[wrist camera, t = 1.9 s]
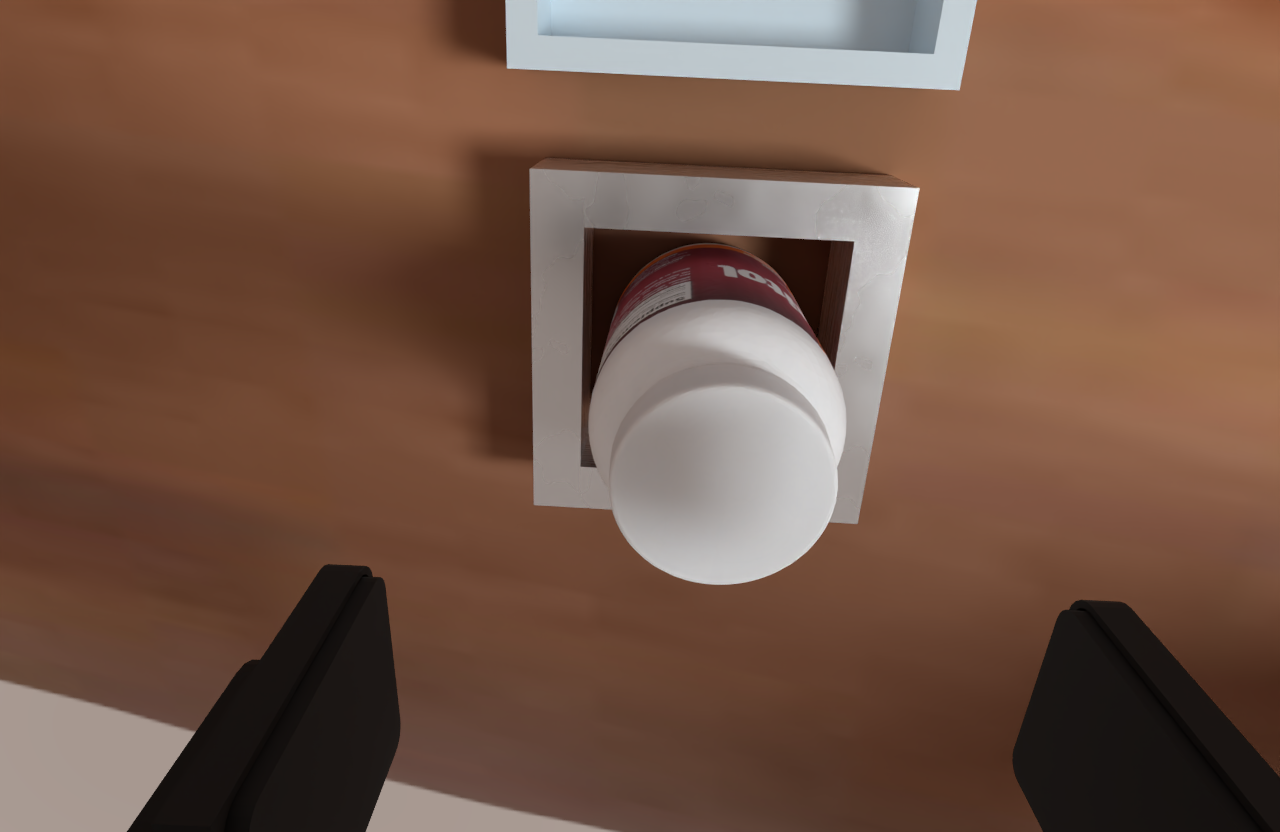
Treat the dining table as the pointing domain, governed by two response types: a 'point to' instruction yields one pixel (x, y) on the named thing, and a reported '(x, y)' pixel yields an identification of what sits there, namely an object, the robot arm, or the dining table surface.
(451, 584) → the dining table surface
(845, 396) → the holder
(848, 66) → the tray
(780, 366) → the pill bottle
